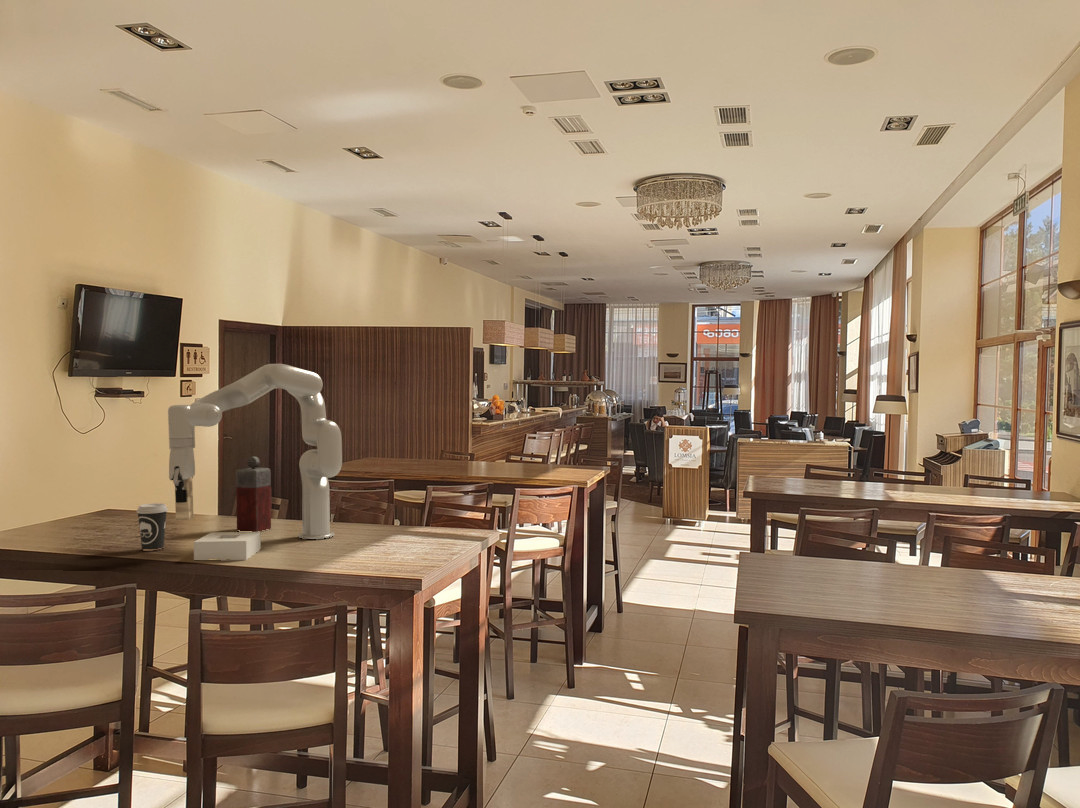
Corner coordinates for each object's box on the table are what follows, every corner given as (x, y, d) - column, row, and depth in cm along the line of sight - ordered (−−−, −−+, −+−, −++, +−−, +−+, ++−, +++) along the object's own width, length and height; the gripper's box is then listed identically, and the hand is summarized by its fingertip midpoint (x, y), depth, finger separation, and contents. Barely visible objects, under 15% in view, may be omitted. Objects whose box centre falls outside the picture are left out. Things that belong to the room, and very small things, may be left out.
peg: (180, 517, 253) (179, 471, 252) (193, 517, 253) (192, 471, 252) (175, 520, 249) (174, 472, 248) (189, 519, 249) (187, 472, 248)
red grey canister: (275, 527, 304) (274, 455, 304) (256, 532, 294) (256, 457, 293) (255, 526, 307) (254, 454, 306) (236, 531, 296) (235, 457, 295)
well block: (211, 550, 262) (211, 532, 262) (260, 549, 263) (260, 531, 263) (193, 561, 246) (193, 541, 246) (246, 559, 247) (246, 540, 247)
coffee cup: (169, 550, 262) (169, 505, 261) (137, 554, 257) (136, 508, 257) (167, 545, 270) (166, 502, 270) (136, 548, 265) (135, 504, 265)
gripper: (180, 441, 258) (181, 497, 259) (159, 446, 241) (161, 505, 242) (203, 441, 259) (205, 496, 259) (184, 445, 242) (186, 505, 243)
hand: (184, 500), depth 251 cm, fingers closed on peg, 4 cm apart
